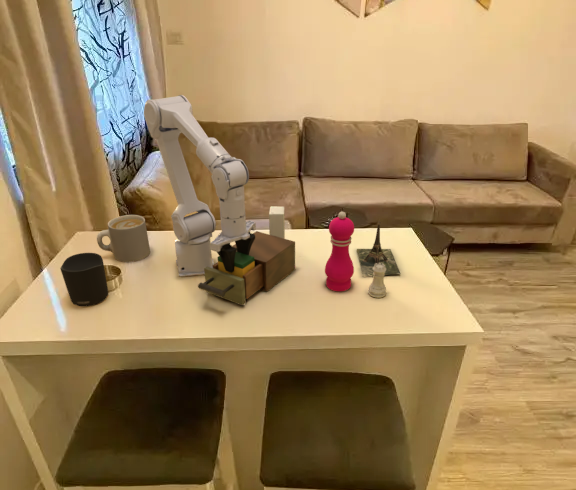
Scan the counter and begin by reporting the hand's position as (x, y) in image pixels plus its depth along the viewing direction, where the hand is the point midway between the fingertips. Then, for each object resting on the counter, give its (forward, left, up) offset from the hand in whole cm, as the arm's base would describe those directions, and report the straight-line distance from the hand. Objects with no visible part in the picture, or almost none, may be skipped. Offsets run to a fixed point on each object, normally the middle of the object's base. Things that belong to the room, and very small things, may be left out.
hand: (236, 266), depth 117 cm
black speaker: (-36, +5, -7) cm, 37 cm away
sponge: (0, 0, -1) cm, 1 cm away
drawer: (-1, -1, -6) cm, 6 cm away
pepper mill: (+25, -3, -7) cm, 26 cm away
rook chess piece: (+33, -9, -7) cm, 35 cm away
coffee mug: (-29, +27, -7) cm, 40 cm away
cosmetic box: (+14, +21, -7) cm, 27 cm away
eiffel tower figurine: (+39, +6, -7) cm, 40 cm away
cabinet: (+7, +7, -7) cm, 13 cm away
